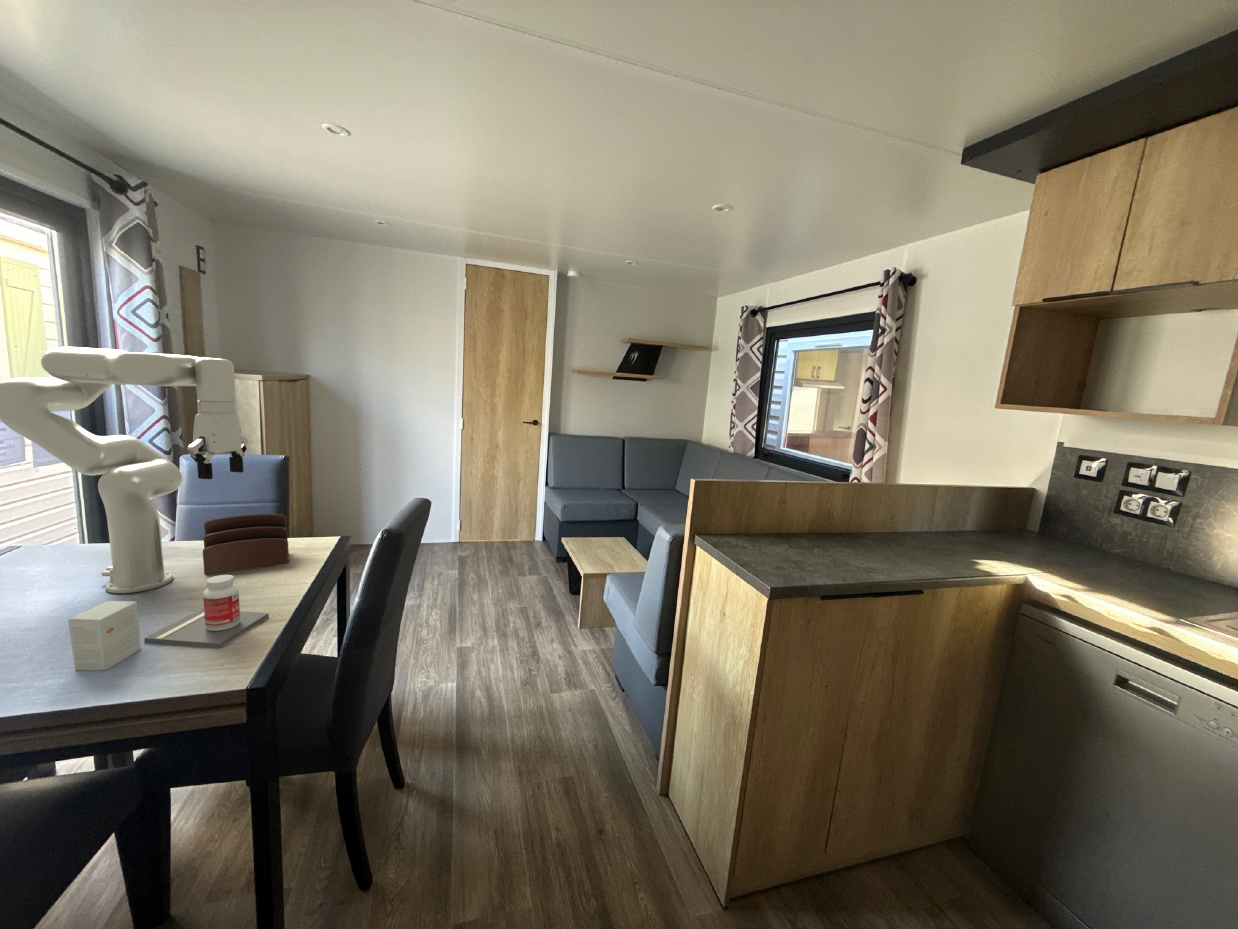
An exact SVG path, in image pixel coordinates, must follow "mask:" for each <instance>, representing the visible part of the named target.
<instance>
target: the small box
mask: <svg viewBox="0 0 1238 929" xmlns="http://www.w3.org/2000/svg"><path fill="white" fill-rule="evenodd" d="M137 603H138V602H137V601H127V600H126V601H125V600H124V601H122V600H121V601H120V600H106V601H104V602H102V603H100V604H98V605H96V606H94V607H92V608H89V609H88V610H85V611H83V612H82V613H80V614H76V615H75V616H73V617H70V618H69V619H68V626H69V627H68V628H69V634H70V642H71V650H72V657H73V664H74V670H75V671H95V670H106V671H108V670H110V668H113V667H114V666H116V665H117V664H119V663H120V662H123V661H124V660H125V659H127V658H129V657H130V656H132V655H133V654H135V653H137V652H138V651H139V650H141V649H142V644H141V641H142V640H141V634H140V633H141V632H140V624H139V613H138V604H137Z"/></svg>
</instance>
